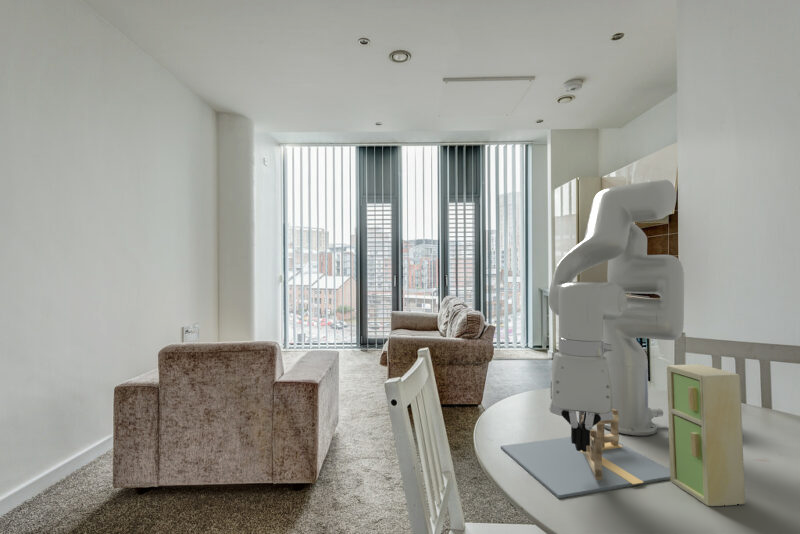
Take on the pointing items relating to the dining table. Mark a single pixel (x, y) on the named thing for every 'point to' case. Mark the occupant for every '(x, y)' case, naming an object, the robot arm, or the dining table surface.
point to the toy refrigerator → (706, 433)
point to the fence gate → (594, 454)
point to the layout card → (584, 466)
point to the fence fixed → (600, 429)
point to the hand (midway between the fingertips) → (580, 448)
